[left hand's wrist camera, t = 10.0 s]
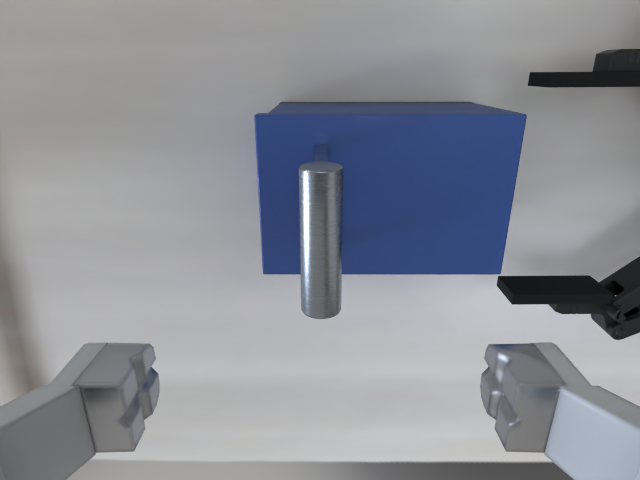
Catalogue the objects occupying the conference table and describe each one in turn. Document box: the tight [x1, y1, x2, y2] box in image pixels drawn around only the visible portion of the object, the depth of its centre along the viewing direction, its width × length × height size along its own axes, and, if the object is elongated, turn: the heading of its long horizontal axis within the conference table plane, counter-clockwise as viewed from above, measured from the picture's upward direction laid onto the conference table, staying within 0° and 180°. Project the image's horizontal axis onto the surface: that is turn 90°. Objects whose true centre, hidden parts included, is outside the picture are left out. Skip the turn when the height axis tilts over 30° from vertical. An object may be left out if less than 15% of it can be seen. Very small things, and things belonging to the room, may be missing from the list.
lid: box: [255, 113, 526, 319], centre depth 21 cm, size 14×9×8 cm, turn 90°
